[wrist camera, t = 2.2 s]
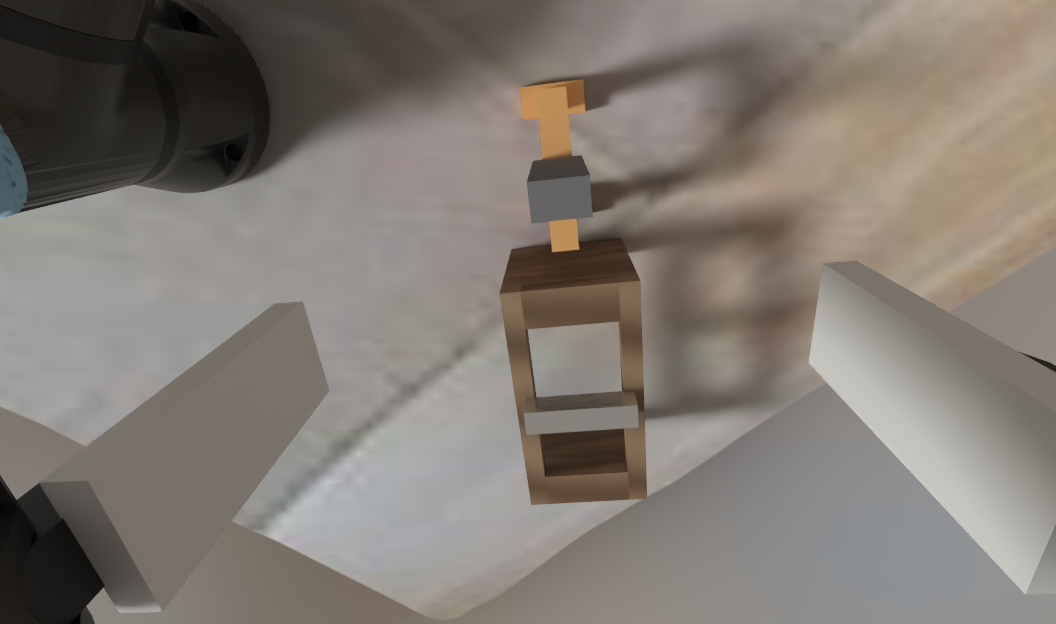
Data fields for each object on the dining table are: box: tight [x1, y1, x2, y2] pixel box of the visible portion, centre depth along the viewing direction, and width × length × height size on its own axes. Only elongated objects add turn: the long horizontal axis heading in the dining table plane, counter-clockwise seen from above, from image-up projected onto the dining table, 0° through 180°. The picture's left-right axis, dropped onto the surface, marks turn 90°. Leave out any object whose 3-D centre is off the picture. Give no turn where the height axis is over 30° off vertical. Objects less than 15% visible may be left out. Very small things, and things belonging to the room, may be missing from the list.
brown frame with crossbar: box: [500, 239, 647, 505], centre depth 45 cm, size 20×10×11 cm, turn 7°
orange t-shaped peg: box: [519, 79, 593, 252], centre depth 33 cm, size 11×5×20 cm, turn 7°
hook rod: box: [524, 390, 639, 435], centre depth 39 cm, size 2×8×2 cm, turn 97°
